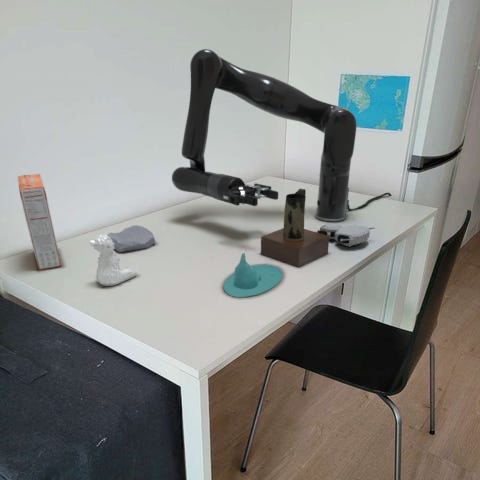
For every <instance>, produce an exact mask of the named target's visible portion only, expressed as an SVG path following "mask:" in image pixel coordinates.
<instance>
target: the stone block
mask: <svg viewBox="0 0 480 480" xmlns="http://www.w3.org/2000/svg"><path fill="white" fill-rule="evenodd" d="M107 235H108V237H110V238H111V239H112V240H113V243H114V244H115V245H114V247H115V249H114V251H116V252H119V253H124V252H129V251H137V250H141V249H142V250H143V249H147V248H150V247H152V246H153V245H155V244H156V239H155V235H154V233H153V232H152V231H150V230H149V229H148V228H147V227H144V226H142V225H137V224H135V225H131V226H129V227H125V228H124V229H122V230H121V231H119V232H109V233H108V234H107Z"/></svg>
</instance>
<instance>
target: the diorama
mask: <svg viewBox="0 0 480 480" xmlns="http://www.w3.org/2000/svg"><path fill="white" fill-rule="evenodd" d="M240 255H241V256H240V260H239V263H238V264H237V265H236V266H235V268H234V272H233V273H232V274H230V276H228V278H226V279H225V281H224V283H223V290H224V292H225V294H227V295H228V296H231V297H234V298H239V299H240V298H241V299H242V298H251V297H255V296H258V295H262V294H265V293H267V292H269V291H271V290H272V289H274V288H275V287H276V286H277V285H278V284H279V283H280V282H281V280H282V278H283V272H282V270H281V269H280V268H279V267H277V266H275V265H271V264H254V265H250V264H249V263H248V262H247V260H246V259H247V258H246V253H245V252H242V253H241V254H240Z"/></svg>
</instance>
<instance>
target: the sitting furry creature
mask: <svg viewBox="0 0 480 480" xmlns="http://www.w3.org/2000/svg"><path fill="white" fill-rule="evenodd" d="M88 242H89V245H90V246H91V247H92V248H93V249H94V250H96V251H97V252H98V253H99V255H98V257H97V269H96V274H95V275H96V276H95V277H96V279H97V282H98V283H99V284H100V285H102V286H105V287H112V286H117V285H119V284H121V283H124V282H126V281H128V280H130V279H132V278H135V276H137V273H138V271H137V270H136V269H135V268H132V267H131V268H130V267H126V268H124V269H122V268H121V267H120V261H121V258H120V257H118V255H117V254H116V252H115V247H114V245H115V244H114V243H113V240H112V239H111V238H110V237H108V234H104V233H102V234H98V235H97V236H96V237H95V239H89V240H88Z"/></svg>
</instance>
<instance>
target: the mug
mask: <svg viewBox="0 0 480 480" xmlns="http://www.w3.org/2000/svg"><path fill="white" fill-rule="evenodd" d="M306 190H307V189H306V188H299V189H298V190H296V191H295V193H288V194H286V196H285V204H284V214H283V215H284V216H283V217H284V218H283V228H284V233H283V238H284V239H286V240H289V241H300V240H303V239H304V229H305V214H306V213H305V212H306V210H305V209H306V199H307V196H306V194H307V191H306Z"/></svg>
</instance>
